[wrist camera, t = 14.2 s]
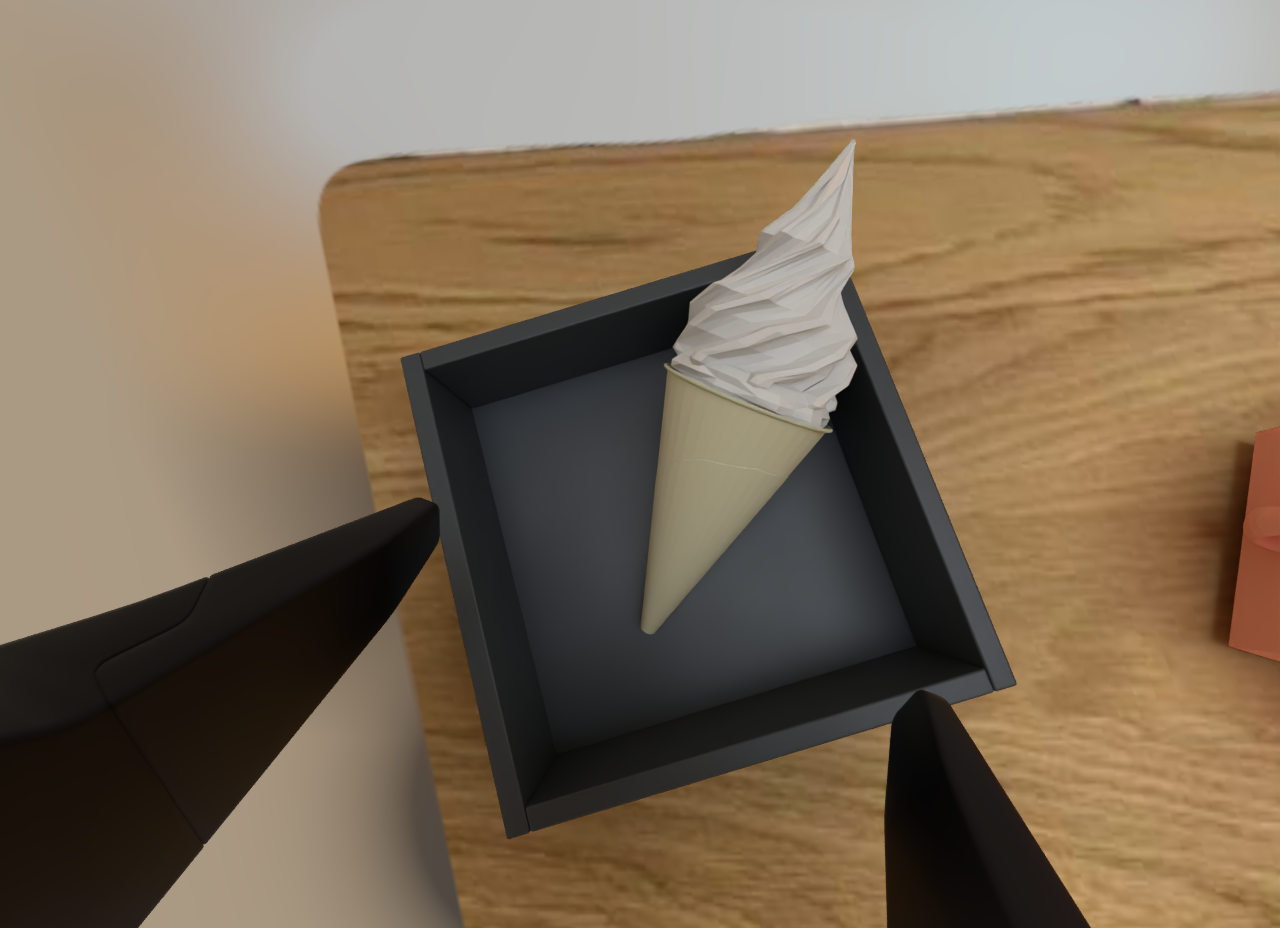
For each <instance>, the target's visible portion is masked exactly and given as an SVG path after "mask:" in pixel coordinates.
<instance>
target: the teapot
mask: <svg viewBox="0 0 1280 928" xmlns="http://www.w3.org/2000/svg"><path fill="white" fill-rule="evenodd" d="M1229 646H1230V647H1234V648H1237V649H1240V650H1243V651H1247V652H1250V653H1253V654H1256V655H1260V656H1263V657H1266V658H1270V659H1273V660H1276V661H1280V427H1278V428H1273V429H1269V430H1264V431H1260V432H1257V433H1256V438H1255V446H1254V453H1253V461H1252V469H1251V477H1250V484H1249V492H1248V500H1247V508H1246V516H1245V521H1244V523H1243V538H1242V546H1241V554H1240V562H1239V570H1238V577H1237V585H1236V593H1235V600H1234V608H1233V615H1232V623H1231V631H1230V639H1229Z"/></svg>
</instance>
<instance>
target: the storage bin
mask: <svg viewBox="0 0 1280 928" xmlns="http://www.w3.org/2000/svg"><path fill="white" fill-rule="evenodd" d="M755 253H756V251H754V252H750V253H747V254H744V255H741V256H737V257H734V258H731V259H727V260H724V261H721V262H717V263H714V264H711V265H707V266H704V267H701V268H698V269H694V270H691V271H688V272H684V273H681V274H678V275H674V276H671V277H668V278H664V279H661V280H658V281H655V282H651V283H648V284H645V285H641V286H638V287H635V288H631V289H628V290H625V291H621V292H618V293H615V294H611V295H608V296H605V297H602V298H598V299H595V300H592V301H588V302H585V303H582V304H578V305H575V306H572V307H568V308H565V309H562V310H559V311H555V312H552V313H549V314H545V315H542V316H539V317H535V318H532V319H529V320H525V321H522V322H519V323H516V324H512V325H509V326H506V327H502V328H499V329H496V330H492V331H489V332H486V333H482V334H479V335H476V336H473V337H469V338H466V339H463V340H459V341H456V342H453V343H449V344H446V345H443V346H439V347H436V348H433V349H429V350H426V351H423V352H421V354H420V353H416V354H412V355H409V356H406V357H402V358H401V363H402V368H403V372H404V377H405V381H406V386H407V390H408V395H409V399H410V404H411V408H412V413H413V417H414V422H415V426H416V431H417V435H418V440H419V444H420V449H421V453H422V458H423V462H424V467H425V471H426V476H427V480H428V485H429V489H430V494H431V498H432V502H433V503H436V504H437V505H438V507H439V510H440V539H441V543H442V548H443V552H444V557H445V561H446V566H447V570H448V575H449V579H450V584H451V588H452V593H453V597H454V602H455V606H456V611H457V615H458V620H459V624H460V629H461V633H462V638H463V642H464V646H465V651H466V655H467V660H468V664H469V669H470V673H471V678H472V682H473V687H474V691H475V696H476V700H477V705H478V709H479V714H480V718H481V723H482V727H483V732H484V736H485V741H486V745H487V750H488V754H489V759H490V763H491V768H492V772H493V777H494V781H495V786H496V790H497V795H498V799H499V804H500V808H501V813H502V817H503V822H504V826H505V831H506V835H507V839H511V838H514V837H518V836H521V835H524V834H528V833H529V832H530V831H537V830H540V829H543V828H546V827H550V826H553V825H556V824H560V823H563V822H566V821H570V820H573V819H576V818H580V817H583V816H586V815H589V814H593V813H596V812H599V811H603V810H606V809H609V808H613V807H616V806H619V805H622V804H626V803H629V802H632V801H636V800H639V799H642V798H646V797H649V796H652V795H656V794H659V793H662V792H665V791H669V790H672V789H675V788H679V787H682V786H685V785H689V784H692V783H695V782H698V781H702V780H705V779H708V778H712V777H715V776H718V775H722V774H725V773H728V772H732V771H735V770H738V769H741V768H745V767H748V766H751V765H755V764H758V763H761V762H765V761H768V760H771V759H774V758H778V757H781V756H784V755H788V754H791V753H794V752H798V751H801V750H804V749H808V748H811V747H814V746H817V745H821V744H824V743H827V742H831V741H834V740H837V739H841V738H844V737H847V736H850V735H854V734H857V733H860V732H864V731H867V730H870V729H874V728H877V727H880V726H884V725H887V724H890V723H892V721H893V718H894V716H895V714H896V713H897V711H898V710H899V709H900V708H901V707H902V706H903V705H904V704H905V703H906V702H907V701H908V700H909V698H910V697H911V696H912V695H913V694H914V693H915V692H916V691H918V690H925V691H928V692H931V693H933V694H936V695H938V696H941V697H943V698H944V699H946V700H947V701H948V703H949V704H950V705H953V704H956V703H960V702H963V701H966V700H969V699H973V698H976V697H979V696H983V695H986V694H989V693H992V692H993V690H994V691H999V690H1002V689H1006V688H1009V687H1012V686H1015V685H1016V680H1015V678H1014V675H1013V673H1012V671H1011V668H1010V666H1009V663H1008V661H1007V658H1006V656H1005V653H1004V651H1003V649H1002V646H1001V644H1000V641H999V639H998V636H997V634H996V631H995V629H994V627H993V624H992V622H991V619H990V617H989V614H988V612H987V609H986V607H985V605H984V602H983V600H982V597H981V595H980V592H979V590H978V587H977V585H976V583H975V580H974V578H973V575H972V573H971V570H970V568H969V565H968V563H967V560H966V558H965V556H964V553H963V551H962V548H961V546H960V543H959V541H958V538H957V536H956V534H955V531H954V529H953V526H952V524H951V521H950V519H949V516H948V514H947V512H946V509H945V507H944V504H943V502H942V499H941V497H940V494H939V492H938V490H937V487H936V485H935V482H934V480H933V477H932V475H931V472H930V470H929V468H928V465H927V463H926V460H925V458H924V455H923V453H922V450H921V448H920V446H919V443H918V441H917V438H916V436H915V433H914V431H913V428H912V426H911V424H910V421H909V419H908V416H907V414H906V411H905V409H904V406H903V404H902V402H901V399H900V397H899V394H898V392H897V389H896V387H895V384H894V382H893V380H892V377H891V375H890V372H889V370H888V367H887V365H886V362H885V360H884V357H883V355H882V353H881V350H880V348H879V345H878V343H877V340H876V338H875V335H874V333H873V331H872V328H871V326H870V323H869V321H868V318H867V316H866V313H865V311H864V309H863V306H862V304H861V301H860V299H859V296H858V294H857V291H856V289H855V287H854V284H853V282H852V279H851V277H850V278H849V279H848V281H847V283H846V284H845V286H844V287H843V289H842V291H841V296H842V300H843V304H844V307H845V309H846V311H847V314H848V316H849V319H850V321H851V323H852V326H853V328H854V330H855V333H856V335H857V338H858V339H857V340H856V342H855V343H854V345H853V346H852V348H851V349H850V352H851V354H852V356H853V358H854V360H855V362H856V364H857V367H856V369H855V372H854V374H853V376H852V379H851V381H850V383H849V386H847V387H846V388H844V389H843V390H842V391H840V392H839V393H837V394H836V395H835V397H836V400H837V406H836V409H835V411H832V412H829V417H830V419H829V421H828V423H827V425H828V426H829V427H830V428H831V429H832V430H833V431H832V432H831V433H825V434H824V435H823V436H822V437H821V439H820V440H819V441H818V442H817V443H816V444H815V446H814V447H813V448H812V449H811V450H810V451H809V453H808V454H807V455H806V456H805V457H804V458H803V460H802V461H801V462H800V463H799V464H798V465H797V467H796V468H795V469H794V470H793V471H792V473H791V474H790V475H789V476H788V478H787V479H786V480H785V482H784V483H783V484H782V485H781V486H780V487H779V489H778V490H777V491H776V492H775V493H774V494H773V496H772V497H771V498H770V499H769V500H768V501H767V503H766V504H765V505H764V506H763V507H762V508H761V510H760V511H759V512H758V513H757V514H756V515H755V517H754V518H753V519H752V520H751V521H750V522H749V524H748V525H747V526H746V527H745V528H744V529H743V531H742V532H741V533H740V534H739V535H738V536H737V538H736V539H735V540H734V541H733V542H732V543H731V545H730V546H729V547H728V548H727V549H726V550H725V552H724V553H723V554H722V555H721V556H720V557H719V559H718V560H717V561H716V562H715V563H714V564H713V566H712V567H711V568H710V569H709V570H708V571H707V573H706V574H705V575H704V576H703V577H702V578H701V580H700V581H699V582H698V583H697V584H696V585H695V587H694V588H693V589H692V590H691V591H690V592H689V594H688V595H687V596H686V597H685V598H684V599H683V601H682V602H681V603H680V604H679V605H678V606H677V608H676V609H675V610H674V611H673V612H672V613H671V615H670V616H669V617H668V618H667V619H666V620H665V622H664V623H663V624H662V625H661V626H660V627H659V629H658V630H657V631H656V632H655V633H654V634H647V633H645V632H644V631H642V629H641V619H642V609H643V599H644V589H645V580H646V570H647V560H648V550H649V540H650V531H651V521H652V511H653V501H654V492H655V482H656V474H657V467H658V458H659V448H660V438H661V428H662V419H663V409H664V399H665V390H666V380H667V369H666V368H665V367H664V364H665V363H672V359H673V358H675V357H676V356H678V355H677V353H676V352H675V350H674V348H673V346H674V344H675V342H676V341H677V339H678V338H679V336H680V335H681V333H682V332H683V330H684V329H685V327H686V326H687V324H688V319H689V306H690V302H691V301H692V300H693V299H694V298H695V297H696V296H698V295H699V294H700V293H701V292H702V291H704V290H705V289H706V288H707V287H708V286H710V285H711V284H712V283H713V282H716V281H719V280H722V279H723V278H725V277H726V276H728V275H729V274H731V273H732V272H734V271H735V270H737V269H738V268H740V267H741V266H742V265H743V264H744V263H745V262H746V261H747V260H749V259H750V258H751V257H752V256H753V255H754V254H755Z"/></svg>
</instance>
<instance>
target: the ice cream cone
mask: <svg viewBox="0 0 1280 928" xmlns="http://www.w3.org/2000/svg"><path fill="white" fill-rule="evenodd" d="M855 142H856V141H855V140H854V141H853V139H852V140H851V142H850V143H849V145H848V146H847V147H846V148H845V149H844V150H843V151H842V153H841V154H840V155H839V156H838V157H837V158H836V160H835V161H834V162H833V163H832V164H831V165H830V167H829V168H828V169H827V170H826V171H825V172H824V174H823V175H822V176H821V177H820V178H819V179H818V181H817V182H816V183H815V184H814V185H813V186H812V187H811V189H810V190H809V191H808V192H807V193H806V194H805V195H804V196H803V197H802V198H801V199H800V201H799V202H798V203H797V204H796V205H795V206H794V207H793V208H791V209H790V210H789V211H787V212H786V213H785V214H783V215H782V216H781V217H779V218H778V219H776V220H775V221H774V222H772V223H771V224H770V225H768V226H767V227H766V228H764V229H763V230H762V231H760V234H759V239H758V244H757V249H756V253H755V254H754V255H753V256H752V257H751V258H750V259H749V260H747V261H746V262H745V263H744V264H743V265H742V266H741V267H740V268H738V269H737V270H735V271H734V272H732V273H731V274H729V275H728V276H726V277H725V278H723V279H722V280H719V281H716V282H713V283H712V284H711V285H710V286H708V287H707V288H706V289H705V290H704V291H702V292H701V293H700V294H699V295H698V296H696V297H695V298H694V299H693V300H692V301H691V302H690V306H689V319H688V324H687V326H686V327H685V329H684V330H683V332H682V333H681V335H680V336H679V338H678V339H677V341H676V342H675V344H674V346H673V348H674V350H675V352H676V353H677V355H678V356H676V357H675V358H673V359H672V363H665V364H664V367H665V368H666V369H667V380H666V390H665V399H664V409H663V419H662V428H661V438H660V448H659V458H658V467H657V474H656V482H655V492H654V501H653V511H652V521H651V531H650V540H649V550H648V560H647V570H646V580H645V589H644V599H643V609H642V619H641V629H642V631H644V632H645V633H647V634H654V633H655V632H656V631H657V630H658V629H659V627H660V626H661V625H662V624H663V623H664V622H665V620H666V619H667V618H668V617H669V616H670V615H671V613H672V612H673V611H674V610H675V609H676V608H677V606H678V605H679V604H680V603H681V602H682V601H683V599H684V598H685V597H686V596H687V595H688V594H689V592H690V591H691V590H692V589H693V588H694V587H695V585H696V584H697V583H698V582H699V581H700V580H701V578H702V577H703V576H704V575H705V574H706V573H707V571H708V570H709V569H710V568H711V567H712V566H713V564H714V563H715V562H716V561H717V560H718V559H719V557H720V556H721V555H722V554H723V553H724V552H725V550H726V549H727V548H728V547H729V546H730V545H731V543H732V542H733V541H734V540H735V539H736V538H737V536H738V535H739V534H740V533H741V532H742V531H743V529H744V528H745V527H746V526H747V525H748V524H749V522H750V521H751V520H752V519H753V518H754V517H755V515H756V514H757V513H758V512H759V511H760V510H761V508H762V507H763V506H764V505H765V504H766V503H767V501H768V500H769V499H770V498H771V497H772V496H773V494H774V493H775V492H776V491H777V490H778V489H779V487H780V486H781V485H782V484H783V483H784V482H785V480H786V479H787V478H788V476H789V475H790V474H791V473H792V471H793V470H794V469H795V468H796V467H797V465H798V464H799V463H800V462H801V461H802V460H803V458H804V457H805V456H806V455H807V454H808V453H809V451H810V450H811V449H812V448H813V447H814V446H815V444H816V443H817V442H818V441H819V440H820V439H821V437H822V436H823V435H824V434H825V433H831V432H832V431H833V430H832V429H831V428H830V427H829V426H828V425H827V423H828V421H829V419H830V417H829V412H832V411H835V409H836V406H837V400H836V397H835V395H836V394H837V393H839V392H840V391H842V390H843V389H844V388H846V387H847V386H849V383H850V381H851V379H852V376H853V374H854V372H855V369H856V367H857V364H856V362H855V360H854V358H853V356H852V354H851V352H850V349H851V348H852V346H853V345H854V343H855V342H856V340H857V339H858V338H857V335H856V333H855V330H854V328H853V326H852V323H851V321H850V319H849V316H848V314H847V311H846V309H845V307H844V304H843V300H842V296H841V291H842V289H843V287H844V286H845V284H846V283H847V281H848V279H849V278H850V276H851V274H852V273H853V271H854V269H855V265H854V261H853V256H852V241H851V221H852V191H853V161H854V149H855V145H856V144H855Z"/></svg>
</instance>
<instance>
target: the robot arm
mask: <svg viewBox="0 0 1280 928" xmlns="http://www.w3.org/2000/svg"><path fill="white" fill-rule="evenodd" d="M439 537H440V510H439V507H438V505H437V504H436V503H433V502H431V501H428V500H425V499H423V498H414V499H411V500H408V501H406V502H403V503H400V504H398V505H395V506H392V507H390V508H387V509H384V510H382V511H379V512H376V513H374V514H371V515H369V516H366V517H364V518H361V519H358V520H355V521H353V522H350V523H348V524H345V525H342V526H340V527H337V528H334V529H332V530H329V531H326V532H324V533H321V534H318V535H316V536H313V537H311V538H308V539H305V540H303V541H300V542H297V543H295V544H292V545H289V546H287V547H285V548H282V549H279V550H276V551H274V552H271V553H268V554H266V555H263V556H260V557H258V558H255V559H253V560H250V561H247V562H245V563H242V564H240V565H237V566H234V567H231V568H229V569H226V570H223V571H221V572H218V573H216V574H213V575H211V576H210V578H207V577H205V578H202V579H199V580H197V581H194V582H191V583H189V584H186V585H184V586H181V587H178V588H175V589H173V590H170V591H167V592H164V593H161V594H159V595H156V596H153V597H151V598H147V599H145V600H142V601H139V602H136V603H133V604H130V605H127V606H124V607H121V608H118V609H115V610H111V611H108V612H105V613H102V614H99V615H96V616H93V617H90V618H87V619H83V620H80V621H77V622H73V623H70V624H67V625H64V626H60V627H57V628H55V629H51V630H47V631H44V632H41V633H38V634H34V635H31V636H28V637H25V638H22V639H18V640H15V641H12V642H9V643H5V644H2V645H0V928H138V927H139V926H140V925H141V924H142V922H143V921H144V920H145V918H147V916H148V915H149V914H150V913H151V911H152V910H153V909H154V908H155V906H156V905H157V904H158V903H159V902H160V900H161V899H162V898H163V897H164V895H165V894H166V893H167V892H168V890H169V889H170V888H171V886H172V885H173V884H174V883H175V882H176V881H177V879H178V878H179V877H180V876H181V874H182V873H183V872H184V871H185V870H186V868H187V867H188V866H189V864H190V863H191V862H192V861H193V860H194V858H195V857H196V856H197V855H198V853H199V852H200V851H201V850H202V848H203V847H204V846H203V844H206V843H207V842H208V840H209V839H210V838H211V837H212V835H213V834H214V833H215V832H216V831H217V829H218V828H219V827H220V826H221V824H222V823H223V822H224V821H225V820H226V818H227V817H228V816H229V815H230V813H231V812H232V811H233V810H234V809H235V807H236V806H237V805H238V804H239V802H240V801H241V800H242V799H243V797H244V796H245V795H246V794H247V792H248V791H249V790H250V789H251V788H252V786H253V785H254V784H255V783H256V782H257V780H258V779H259V778H260V777H261V775H262V774H263V773H264V772H265V770H266V769H267V768H268V767H269V766H270V764H271V763H272V762H273V760H274V759H275V758H276V757H277V756H278V754H279V753H280V752H281V751H282V749H283V748H284V747H285V746H286V745H287V743H288V742H289V741H290V740H291V738H292V737H293V736H294V735H295V733H296V732H297V731H298V730H299V729H300V727H301V726H302V724H304V722H305V721H306V720H307V719H308V717H309V716H310V715H311V714H312V713H313V711H314V710H315V709H316V708H317V706H318V705H319V704H320V703H321V701H322V700H323V699H324V698H325V697H326V695H327V694H328V693H329V692H330V690H331V689H332V688H333V687H334V685H335V684H336V683H337V682H338V681H339V679H340V678H341V677H342V675H343V674H344V673H345V672H346V671H347V669H348V668H349V667H350V666H351V664H352V663H353V662H354V661H355V660H356V658H357V657H358V656H359V655H360V653H361V652H362V651H363V650H364V648H365V647H366V646H367V645H368V643H369V642H370V641H371V640H372V639H373V637H374V636H375V635H376V634H377V632H378V631H379V630H380V629H381V628H382V626H383V625H384V624H385V623H386V621H387V620H388V619H389V617H390V615H392V613H393V612H394V611H395V609H396V608H397V606H398V605H399V603H400V602H401V600H402V599H403V597H404V596H405V594H406V592H407V591H408V589H409V588H410V586H411V585H412V583H413V582H414V580H415V578H416V577H417V575H418V574H419V572H420V571H421V569H422V568H423V566H424V565H425V563H426V561H427V560H428V558H429V557H430V555H431V554H432V552H433V551H434V549H435V547H436V546H437V543H438V541H439ZM884 833H885V868H886V902H887V928H1091V927H1090V926H1089V924H1088V923H1087V921H1086V919H1085V918H1084V916H1083V915H1082V913H1081V911H1080V910H1079V908H1078V907H1077V905H1076V904H1075V902H1074V900H1073V899H1072V897H1071V896H1070V894H1069V892H1068V891H1067V889H1066V888H1065V886H1064V884H1063V883H1062V881H1061V880H1060V878H1059V877H1058V875H1057V873H1056V872H1055V870H1054V869H1053V867H1052V865H1051V864H1050V862H1049V861H1048V859H1047V858H1046V856H1045V854H1044V853H1043V851H1042V850H1041V848H1040V846H1039V845H1038V843H1037V842H1036V840H1035V839H1034V837H1033V835H1032V834H1031V832H1030V831H1029V829H1028V827H1027V826H1026V824H1025V823H1024V821H1023V820H1022V818H1021V816H1020V815H1019V813H1018V812H1017V810H1016V808H1015V807H1014V805H1013V804H1012V802H1011V801H1010V799H1009V797H1008V796H1007V794H1006V793H1005V791H1004V789H1003V788H1002V786H1001V785H1000V783H999V782H998V780H997V778H996V777H995V775H994V774H993V772H992V770H991V769H990V767H989V766H988V764H987V763H986V761H985V759H984V758H983V756H982V755H981V753H980V751H979V750H978V748H977V747H976V745H975V743H974V742H973V740H972V739H971V737H970V736H969V734H968V732H967V731H966V729H965V728H964V726H963V724H962V723H961V721H960V720H959V718H958V717H957V715H956V713H955V712H954V710H953V709H952V707H951V705H950V704H949V703H948V701H947V700H946V699H944V698H943V697H941V696H938V695H936V694H933V693H931V692H928V691H925V690H918V691H916V692H915V693H914V694H913V695H912V696H911V697H910V698H909V700H908V701H907V702H906V703H905V704H904V705H903V706H902V707H901V708H900V709H899V710H898V711H897V713H896V714H895V716H894V718H893V721H892V726H891V737H890V749H889V761H888V773H887V785H886V797H885V814H884Z"/></svg>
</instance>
